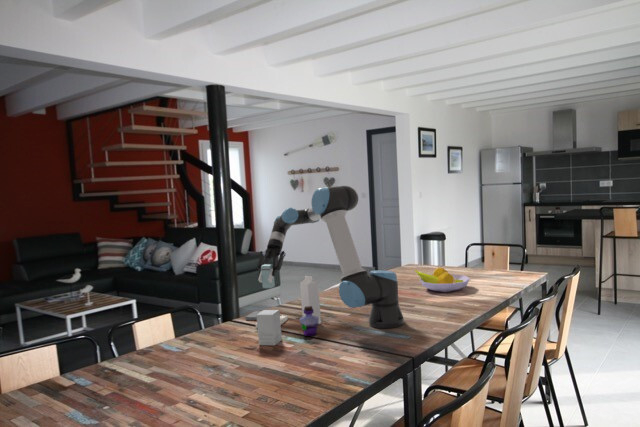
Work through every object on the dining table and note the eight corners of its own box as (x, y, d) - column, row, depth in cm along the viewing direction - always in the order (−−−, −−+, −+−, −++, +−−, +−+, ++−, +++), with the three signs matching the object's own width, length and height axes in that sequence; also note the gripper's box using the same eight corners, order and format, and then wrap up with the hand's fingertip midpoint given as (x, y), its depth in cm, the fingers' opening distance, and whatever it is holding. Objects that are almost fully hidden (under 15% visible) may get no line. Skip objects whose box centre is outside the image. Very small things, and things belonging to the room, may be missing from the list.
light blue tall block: (266, 286, 238) (264, 264, 237) (274, 286, 236) (273, 264, 236) (262, 288, 234) (260, 266, 233) (271, 288, 232) (269, 265, 231)
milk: (310, 326, 212) (306, 277, 211) (302, 324, 217) (298, 276, 216) (321, 323, 216) (317, 275, 215) (313, 321, 221) (309, 273, 219)
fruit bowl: (475, 285, 269) (474, 265, 268) (461, 296, 246) (460, 274, 245) (427, 282, 284) (426, 263, 283) (409, 293, 261) (408, 272, 260)
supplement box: (282, 339, 197) (280, 309, 196) (275, 346, 190) (272, 314, 189) (266, 339, 199) (263, 309, 199) (258, 345, 192) (255, 314, 192)
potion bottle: (296, 337, 199) (294, 308, 198) (304, 330, 207) (302, 303, 206) (316, 338, 196) (314, 309, 195) (323, 331, 204) (321, 303, 203)
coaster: (254, 314, 241) (254, 311, 241) (272, 314, 238) (272, 311, 238) (245, 319, 231) (245, 316, 231) (264, 320, 228) (264, 317, 228)
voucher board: (268, 319, 230) (267, 314, 230) (287, 319, 227) (287, 314, 227) (255, 328, 216) (255, 323, 216) (276, 328, 213) (275, 323, 213)
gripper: (294, 246, 246) (284, 285, 231) (263, 247, 251) (251, 285, 237) (289, 237, 240) (278, 277, 226) (257, 238, 246) (245, 277, 231)
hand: (264, 281), depth 231 cm, fingers closed on light blue tall block, 4 cm apart
